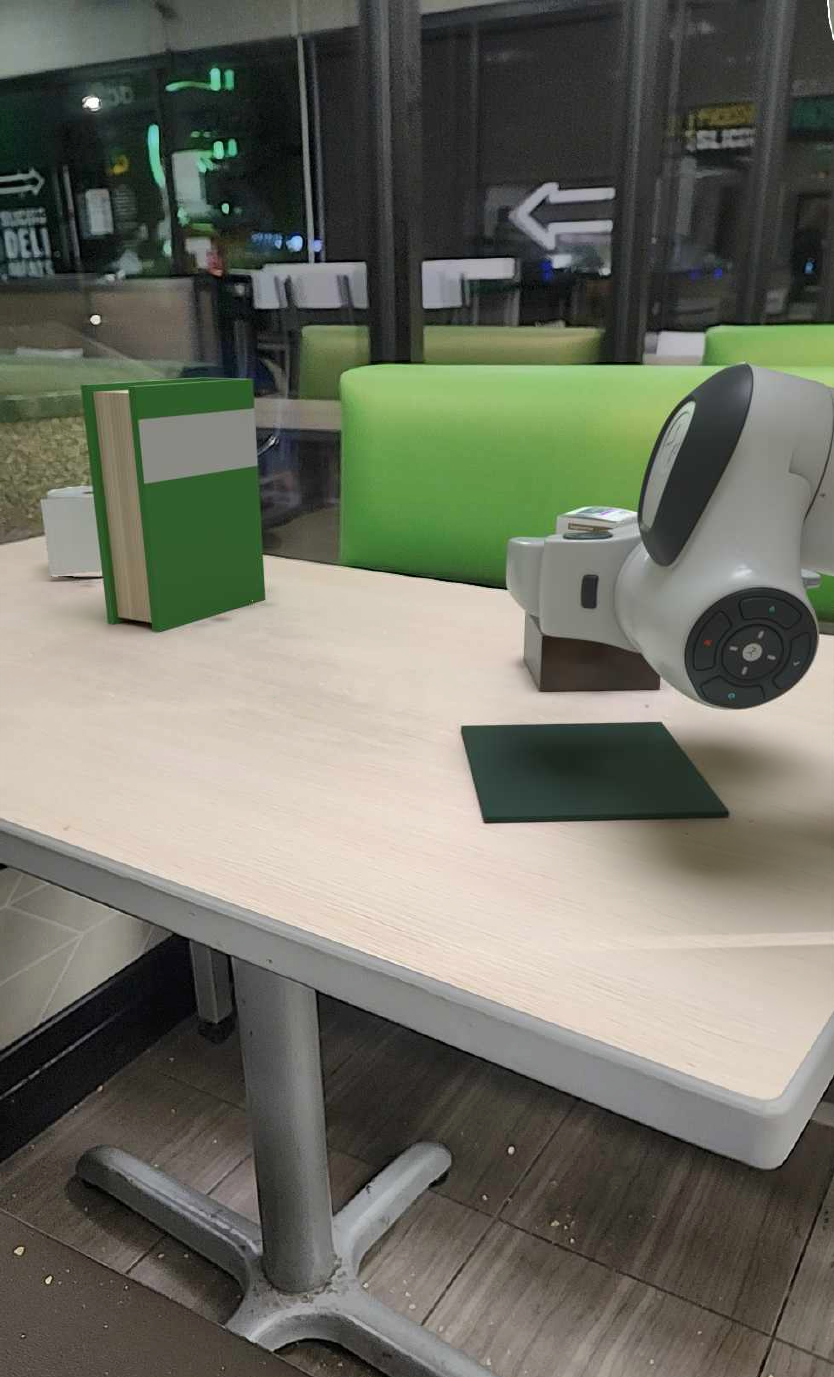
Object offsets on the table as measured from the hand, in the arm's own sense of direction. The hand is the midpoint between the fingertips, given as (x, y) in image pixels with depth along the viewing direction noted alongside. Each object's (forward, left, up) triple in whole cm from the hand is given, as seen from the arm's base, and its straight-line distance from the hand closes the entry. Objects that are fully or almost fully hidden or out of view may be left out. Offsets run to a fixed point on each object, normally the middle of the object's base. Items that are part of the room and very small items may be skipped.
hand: (628, 548), depth 86 cm
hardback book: (+40, -40, -14) cm, 58 cm away
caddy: (0, -13, -14) cm, 19 cm away
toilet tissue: (+55, -63, -14) cm, 85 cm away
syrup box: (0, -13, -14) cm, 19 cm away
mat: (+5, +11, -14) cm, 18 cm away
